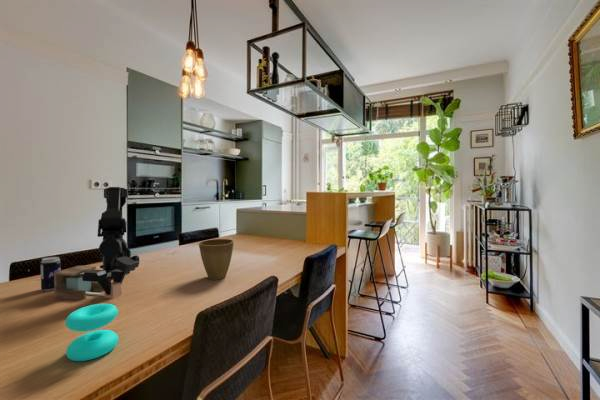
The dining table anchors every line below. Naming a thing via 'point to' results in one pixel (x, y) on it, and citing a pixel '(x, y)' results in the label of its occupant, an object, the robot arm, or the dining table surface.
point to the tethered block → (78, 284)
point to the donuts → (93, 341)
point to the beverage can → (49, 272)
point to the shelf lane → (61, 284)
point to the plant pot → (216, 257)
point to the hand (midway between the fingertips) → (113, 292)
